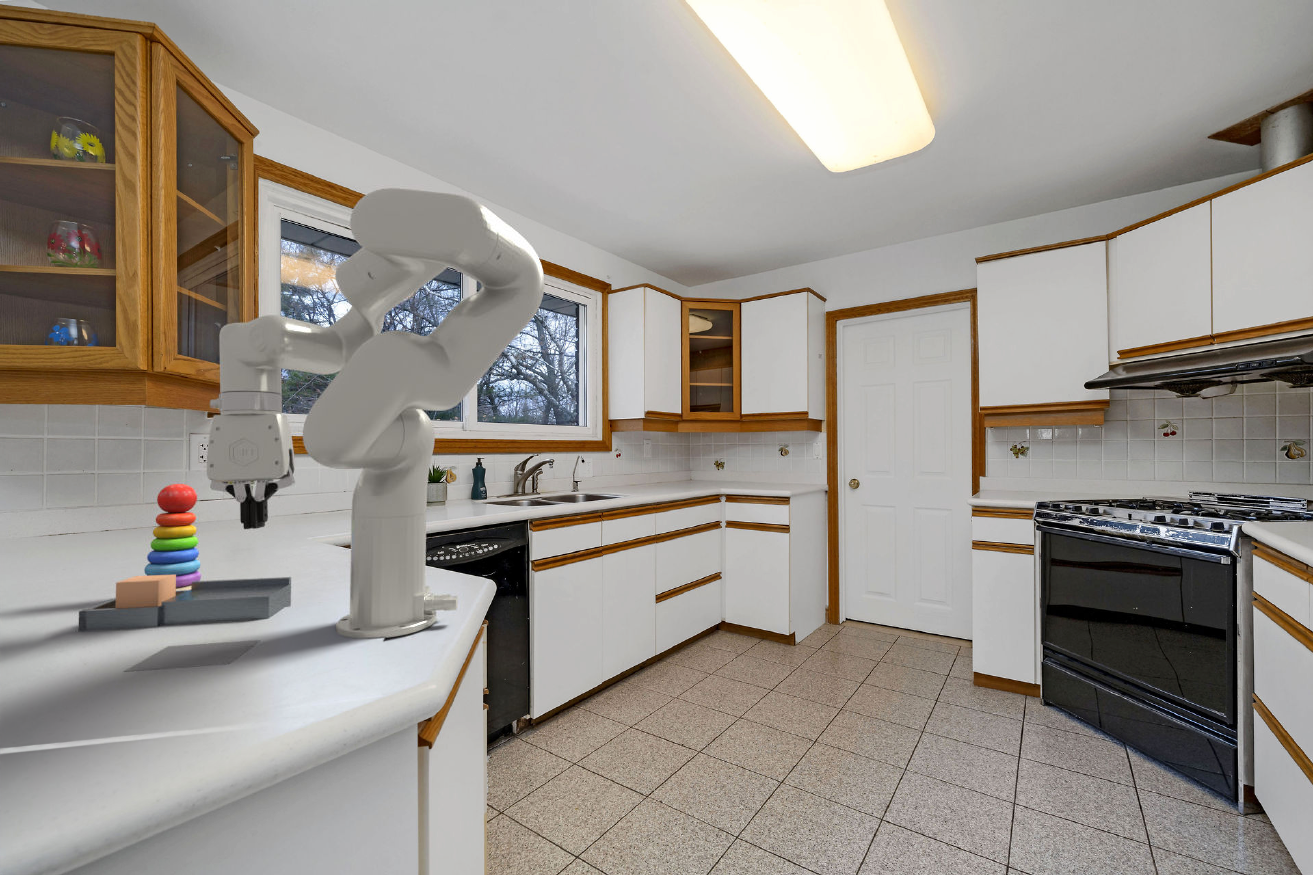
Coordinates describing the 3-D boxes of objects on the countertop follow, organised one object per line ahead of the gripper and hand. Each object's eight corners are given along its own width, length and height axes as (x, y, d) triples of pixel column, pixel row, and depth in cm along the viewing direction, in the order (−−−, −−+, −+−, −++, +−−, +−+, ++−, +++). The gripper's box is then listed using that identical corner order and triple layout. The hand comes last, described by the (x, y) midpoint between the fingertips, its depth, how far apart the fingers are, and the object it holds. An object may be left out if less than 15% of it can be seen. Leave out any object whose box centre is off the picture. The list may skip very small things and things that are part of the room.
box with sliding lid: (292, 604, 88) (293, 575, 88) (266, 622, 79) (266, 590, 79) (127, 613, 83) (128, 583, 83) (78, 634, 73) (79, 600, 74)
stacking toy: (165, 605, 87) (168, 485, 88) (125, 602, 89) (128, 484, 89) (214, 592, 95) (217, 482, 95) (176, 589, 97) (179, 482, 97)
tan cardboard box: (175, 574, 82) (135, 576, 81) (158, 580, 78) (116, 582, 77) (175, 608, 82) (134, 610, 81) (157, 616, 78) (115, 618, 77)
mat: (261, 642, 71) (261, 639, 71) (229, 666, 63) (229, 663, 63) (168, 649, 68) (168, 646, 68) (123, 675, 60) (123, 671, 60)
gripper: (179, 405, 79) (181, 535, 78) (298, 403, 83) (301, 526, 82) (207, 410, 86) (209, 528, 85) (315, 407, 90) (318, 521, 89)
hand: (254, 527), depth 84 cm, fingers closed
